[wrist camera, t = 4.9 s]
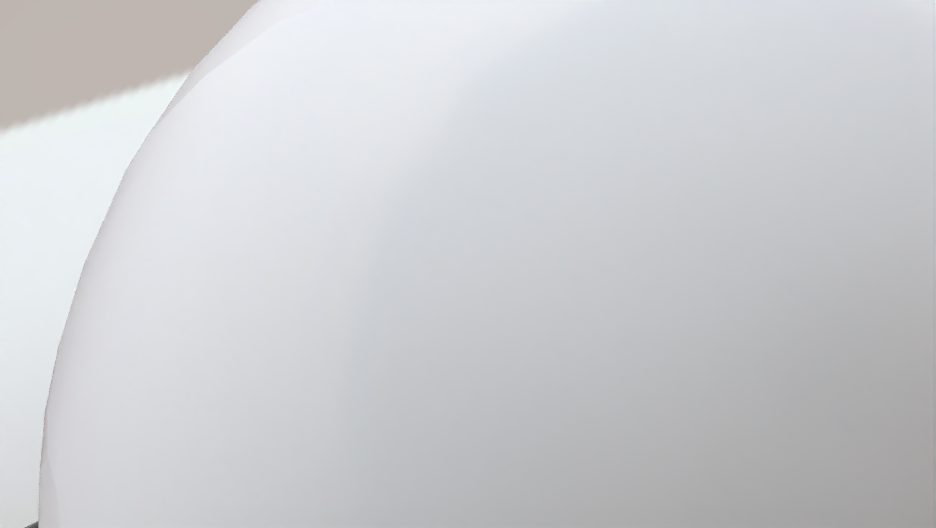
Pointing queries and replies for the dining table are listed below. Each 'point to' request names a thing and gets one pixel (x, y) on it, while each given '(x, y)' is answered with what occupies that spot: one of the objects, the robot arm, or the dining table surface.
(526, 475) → the sprinkles bottle
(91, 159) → the dining table surface
